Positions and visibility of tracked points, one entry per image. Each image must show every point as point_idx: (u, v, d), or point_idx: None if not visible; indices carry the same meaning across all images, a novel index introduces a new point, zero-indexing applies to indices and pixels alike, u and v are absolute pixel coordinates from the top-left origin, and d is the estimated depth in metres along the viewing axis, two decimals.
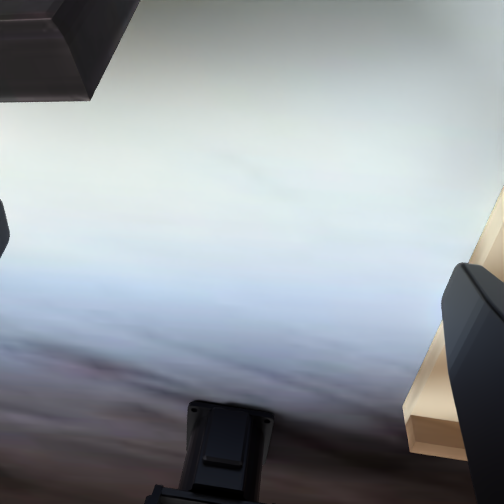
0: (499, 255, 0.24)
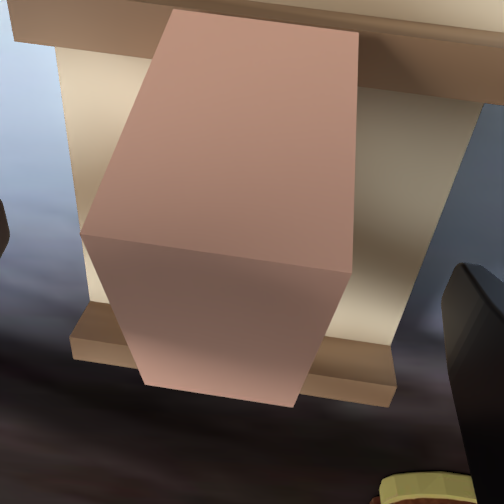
0: None
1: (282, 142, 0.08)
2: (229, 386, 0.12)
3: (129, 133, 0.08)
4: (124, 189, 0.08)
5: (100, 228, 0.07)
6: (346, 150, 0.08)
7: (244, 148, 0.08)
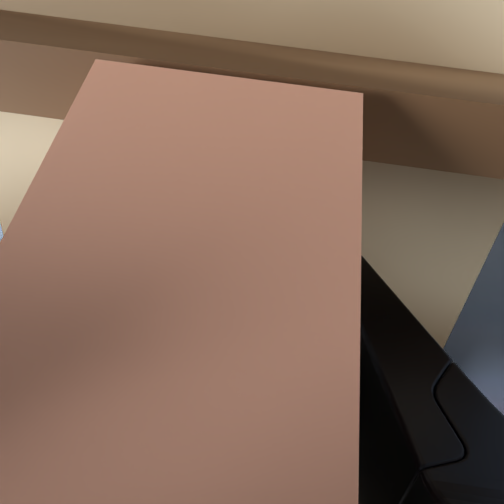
0: None
1: (242, 293, 0.05)
2: None
3: None
4: None
5: None
6: (345, 308, 0.05)
7: (178, 307, 0.05)
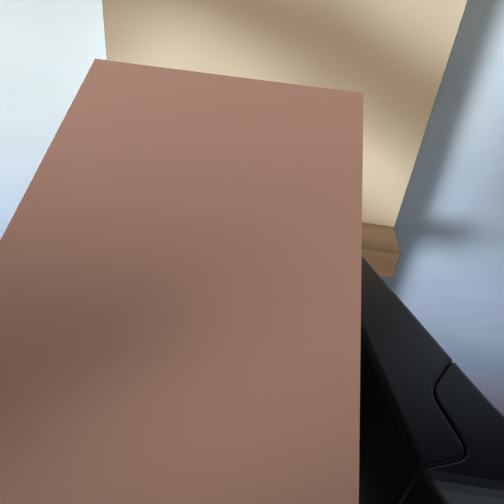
0: None
1: (242, 293, 0.05)
2: None
3: None
4: None
5: None
6: (345, 308, 0.05)
7: (178, 307, 0.05)
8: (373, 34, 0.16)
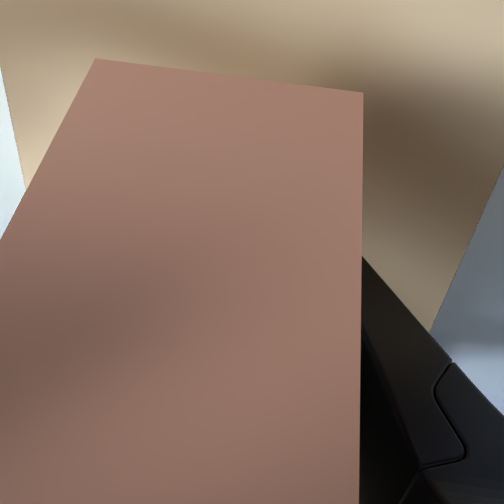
0: None
1: (243, 292, 0.05)
2: None
3: None
4: None
5: None
6: (346, 307, 0.05)
7: (178, 307, 0.05)
8: (404, 101, 0.11)
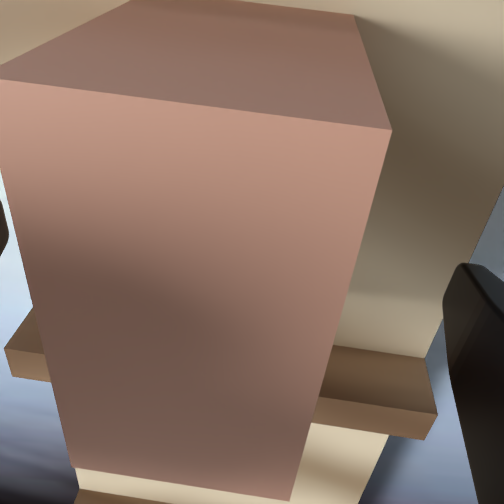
0: None
1: (277, 50, 0.07)
2: (196, 457, 0.08)
3: (80, 32, 0.06)
4: (60, 56, 0.05)
5: (12, 76, 0.05)
6: (357, 59, 0.06)
7: (228, 49, 0.06)
8: (405, 110, 0.10)
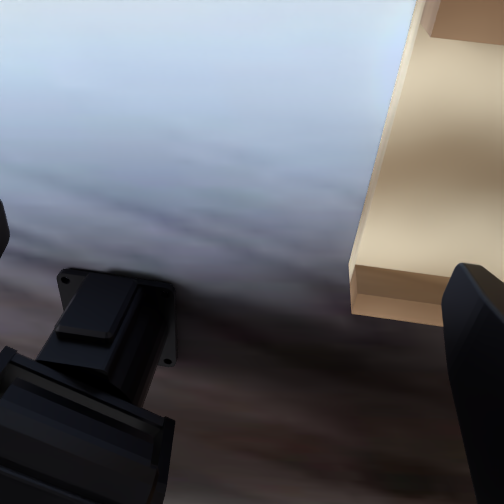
0: None
1: None
2: None
3: None
4: None
5: None
6: None
7: None
8: None
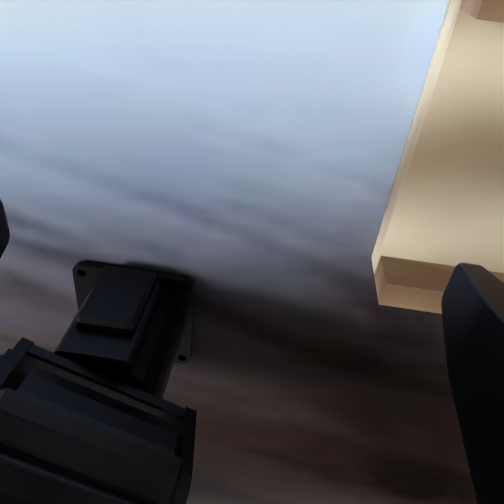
0: None
1: None
2: None
3: None
4: None
5: None
6: None
7: None
8: None
